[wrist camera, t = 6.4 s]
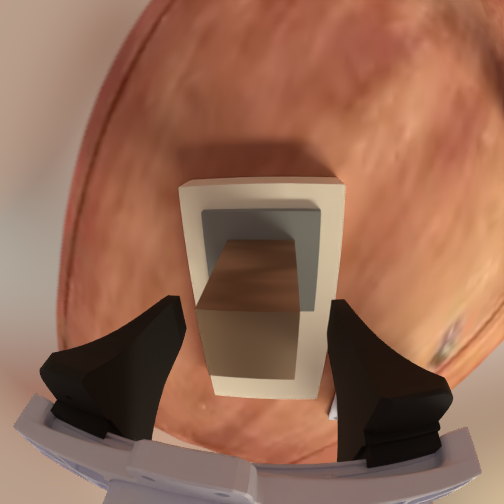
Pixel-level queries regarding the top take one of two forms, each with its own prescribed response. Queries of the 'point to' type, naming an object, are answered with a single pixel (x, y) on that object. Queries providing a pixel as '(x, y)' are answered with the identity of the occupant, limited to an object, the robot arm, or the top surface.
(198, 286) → the pocket board
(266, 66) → the top surface
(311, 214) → the slate mat
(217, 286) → the walnut block
